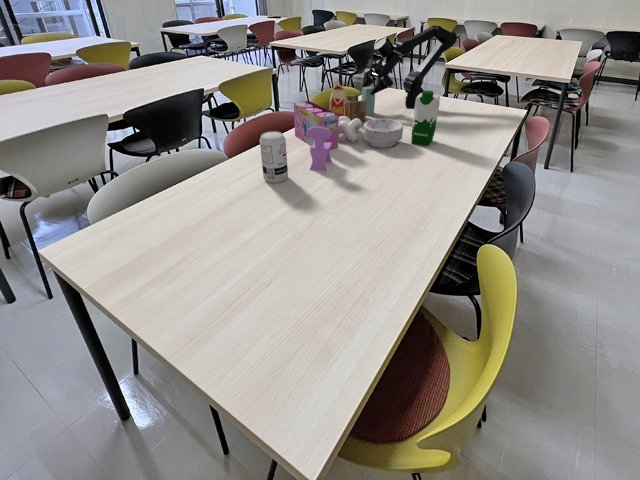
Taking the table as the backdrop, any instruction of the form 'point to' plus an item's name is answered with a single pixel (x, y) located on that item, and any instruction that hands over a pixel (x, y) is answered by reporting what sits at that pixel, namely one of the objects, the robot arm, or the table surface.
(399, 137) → the marble bowl
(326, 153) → the toy chair
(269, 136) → the supplement can
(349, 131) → the white knot sculpture
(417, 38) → the robot arm
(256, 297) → the table surface
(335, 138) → the gum box
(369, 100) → the teal rectangular block
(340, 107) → the milk carton
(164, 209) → the table surface
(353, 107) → the cabinet carcass
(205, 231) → the table surface
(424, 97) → the soya milk
